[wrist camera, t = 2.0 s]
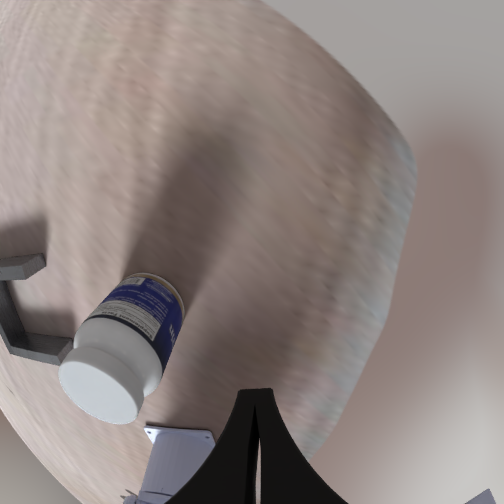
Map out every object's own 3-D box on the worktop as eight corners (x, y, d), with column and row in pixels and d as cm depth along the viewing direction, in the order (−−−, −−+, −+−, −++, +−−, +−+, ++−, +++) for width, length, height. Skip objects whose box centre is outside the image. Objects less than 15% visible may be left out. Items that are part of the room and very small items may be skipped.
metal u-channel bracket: (76, 348, 22) (62, 366, 19) (23, 339, 22) (10, 353, 19) (42, 253, 19) (21, 265, 16) (-7, 259, 19) (-24, 269, 16)
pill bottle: (170, 345, 21) (134, 442, 12) (111, 312, 20) (49, 393, 11) (198, 293, 20) (161, 396, 10) (130, 256, 19) (50, 330, 9)
